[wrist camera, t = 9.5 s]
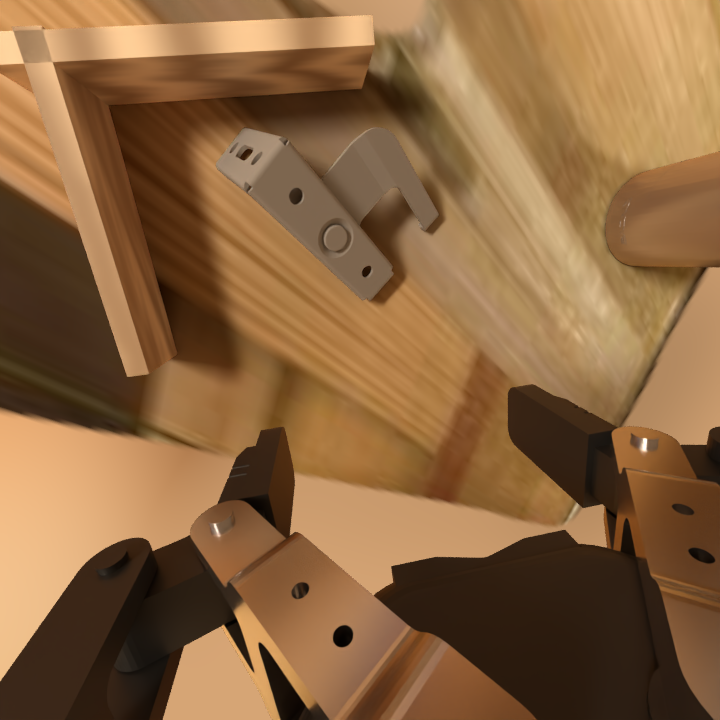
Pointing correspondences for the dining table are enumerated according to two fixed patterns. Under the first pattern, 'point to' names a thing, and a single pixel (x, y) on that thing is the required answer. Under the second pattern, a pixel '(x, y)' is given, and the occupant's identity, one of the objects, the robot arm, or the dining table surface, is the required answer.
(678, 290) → the dining table surface
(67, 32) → the wooden corner joint
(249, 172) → the bracket
